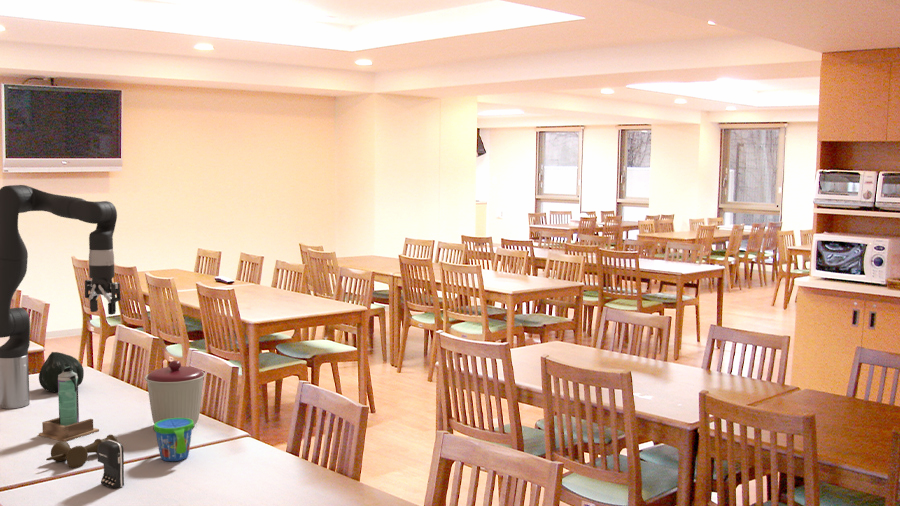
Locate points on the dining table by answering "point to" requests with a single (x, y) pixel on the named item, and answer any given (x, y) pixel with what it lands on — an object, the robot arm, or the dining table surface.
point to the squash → (58, 370)
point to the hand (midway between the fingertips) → (102, 312)
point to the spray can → (68, 397)
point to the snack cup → (174, 438)
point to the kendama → (75, 452)
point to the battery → (111, 463)
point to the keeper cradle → (67, 429)
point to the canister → (175, 392)
